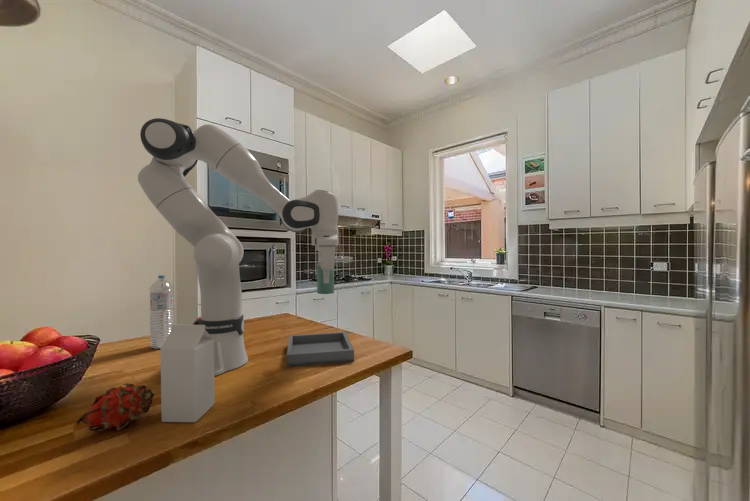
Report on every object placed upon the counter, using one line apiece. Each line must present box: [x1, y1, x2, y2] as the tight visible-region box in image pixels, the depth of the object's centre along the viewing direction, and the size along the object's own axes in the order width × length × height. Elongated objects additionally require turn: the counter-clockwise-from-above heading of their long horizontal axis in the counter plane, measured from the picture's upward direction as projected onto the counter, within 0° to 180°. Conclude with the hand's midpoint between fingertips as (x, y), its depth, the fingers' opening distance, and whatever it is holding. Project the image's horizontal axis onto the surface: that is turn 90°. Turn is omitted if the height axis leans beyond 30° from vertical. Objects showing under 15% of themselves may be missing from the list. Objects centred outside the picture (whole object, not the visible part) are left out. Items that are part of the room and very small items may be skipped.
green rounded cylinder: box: [316, 262, 335, 295], centre depth 103 cm, size 6×6×10 cm
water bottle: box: [149, 274, 175, 350], centre depth 109 cm, size 7×7×25 cm
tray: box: [286, 331, 355, 368], centre depth 103 cm, size 20×20×4 cm
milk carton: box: [160, 324, 216, 423], centre depth 66 cm, size 7×7×19 cm
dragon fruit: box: [76, 382, 156, 433], centre depth 62 cm, size 8×8×12 cm
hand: (325, 281), depth 103 cm, fingers closed on green rounded cylinder, 6 cm apart
